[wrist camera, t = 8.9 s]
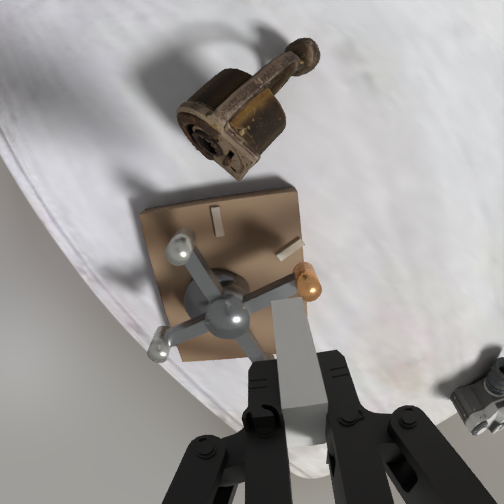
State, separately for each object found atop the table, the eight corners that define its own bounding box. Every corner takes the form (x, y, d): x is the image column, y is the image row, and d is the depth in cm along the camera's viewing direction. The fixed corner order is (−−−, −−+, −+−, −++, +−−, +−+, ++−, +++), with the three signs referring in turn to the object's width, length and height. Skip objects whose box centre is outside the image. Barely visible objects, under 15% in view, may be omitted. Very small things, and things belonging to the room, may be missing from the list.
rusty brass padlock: (179, 144, 26) (141, 154, 17) (244, 23, 22) (241, -26, 13) (251, 179, 28) (251, 206, 18) (317, 57, 23) (350, 25, 14)
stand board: (145, 209, 29) (137, 215, 26) (296, 186, 28) (300, 191, 26) (185, 350, 35) (182, 363, 33) (308, 338, 34) (311, 351, 32)
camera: (524, 346, 37) (553, 379, 28) (502, 386, 41) (525, 420, 32) (469, 359, 37) (499, 402, 28) (445, 403, 41) (467, 445, 32)
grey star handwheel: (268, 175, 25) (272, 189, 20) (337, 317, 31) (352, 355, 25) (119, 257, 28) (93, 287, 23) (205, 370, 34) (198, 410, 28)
